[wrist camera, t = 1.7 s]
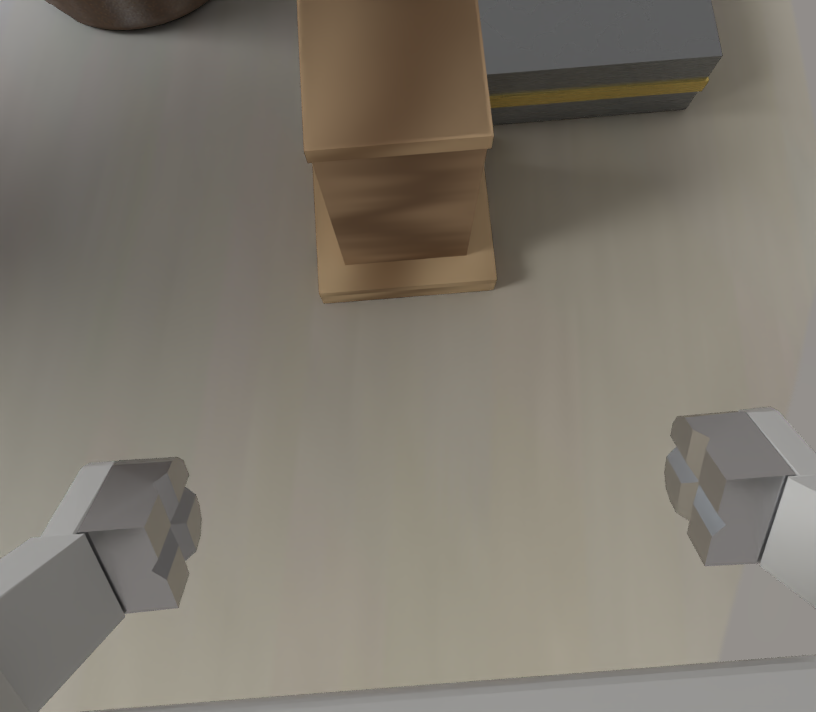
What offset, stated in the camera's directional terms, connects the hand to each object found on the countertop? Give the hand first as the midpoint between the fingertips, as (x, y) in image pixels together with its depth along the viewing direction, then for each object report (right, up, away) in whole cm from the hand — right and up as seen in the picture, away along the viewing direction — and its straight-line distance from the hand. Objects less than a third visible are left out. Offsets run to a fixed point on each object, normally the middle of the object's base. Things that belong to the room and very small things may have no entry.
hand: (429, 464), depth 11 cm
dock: (+7, +20, +22) cm, 31 cm away
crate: (-1, +9, +19) cm, 21 cm away
